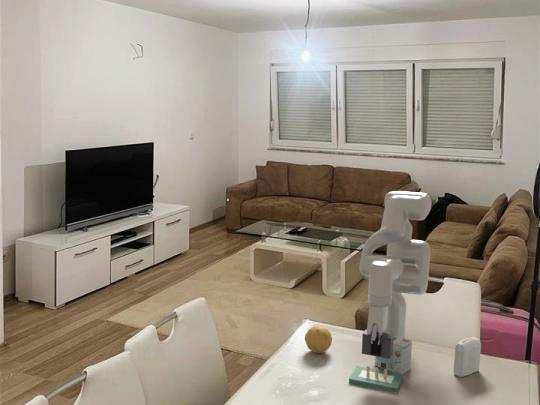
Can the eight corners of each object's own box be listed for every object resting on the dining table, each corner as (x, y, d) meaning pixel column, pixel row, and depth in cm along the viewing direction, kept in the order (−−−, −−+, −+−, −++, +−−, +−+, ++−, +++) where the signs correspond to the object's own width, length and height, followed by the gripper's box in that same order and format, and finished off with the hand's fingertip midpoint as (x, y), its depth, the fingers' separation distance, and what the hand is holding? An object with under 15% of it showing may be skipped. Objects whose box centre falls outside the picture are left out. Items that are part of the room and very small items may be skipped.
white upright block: (470, 366, 201) (473, 333, 199) (481, 371, 198) (483, 337, 195) (451, 373, 196) (453, 339, 193) (461, 378, 192) (464, 344, 190)
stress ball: (318, 347, 218) (299, 332, 216) (336, 330, 215) (316, 315, 213) (320, 363, 208) (300, 347, 206) (338, 345, 206) (318, 330, 204)
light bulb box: (374, 366, 201) (375, 337, 199) (384, 359, 206) (385, 331, 204) (401, 376, 194) (402, 346, 192) (411, 369, 199) (412, 340, 197)
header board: (356, 369, 198) (357, 357, 197) (403, 379, 191) (403, 366, 191) (348, 382, 189) (349, 369, 188) (397, 392, 182) (398, 379, 182)
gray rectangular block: (364, 349, 191) (365, 329, 190) (392, 354, 188) (393, 334, 187) (361, 353, 188) (362, 333, 187) (390, 359, 184) (391, 338, 183)
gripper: (374, 290, 194) (372, 341, 197) (361, 305, 179) (359, 360, 182) (396, 293, 191) (393, 345, 194) (385, 308, 176) (382, 364, 179)
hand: (377, 351), depth 188 cm, fingers closed on gray rectangular block, 4 cm apart
